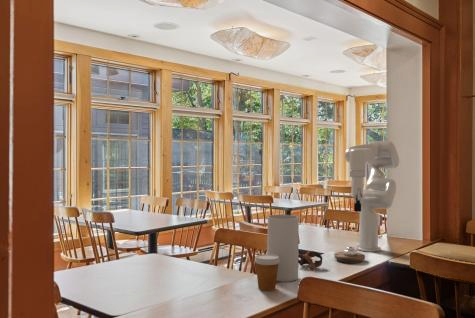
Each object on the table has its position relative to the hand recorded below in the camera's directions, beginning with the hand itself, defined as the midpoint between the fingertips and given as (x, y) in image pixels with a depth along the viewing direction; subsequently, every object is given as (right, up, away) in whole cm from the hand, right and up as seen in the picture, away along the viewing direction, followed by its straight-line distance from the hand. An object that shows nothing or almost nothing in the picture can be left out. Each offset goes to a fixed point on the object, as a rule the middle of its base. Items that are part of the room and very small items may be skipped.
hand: (357, 211), depth 227 cm
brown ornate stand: (-27, -23, -21) cm, 42 cm away
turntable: (-6, -23, -7) cm, 25 cm away
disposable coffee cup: (-48, -23, -54) cm, 76 cm away
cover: (-6, -20, -8) cm, 22 cm away
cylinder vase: (-41, -23, -40) cm, 61 cm away
